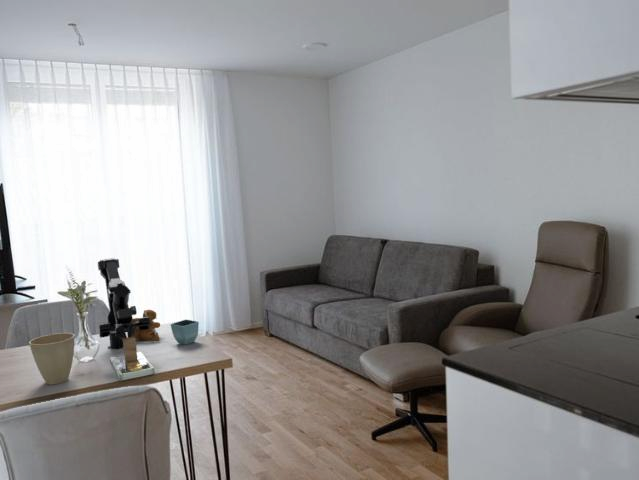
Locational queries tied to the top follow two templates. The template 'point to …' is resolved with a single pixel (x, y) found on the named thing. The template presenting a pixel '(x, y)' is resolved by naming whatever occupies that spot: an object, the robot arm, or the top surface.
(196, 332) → the flower pot
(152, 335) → the stuffed squirrel
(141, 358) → the slot bed
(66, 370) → the plant pot
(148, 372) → the tray
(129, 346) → the brown block
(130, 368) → the yellow small block
